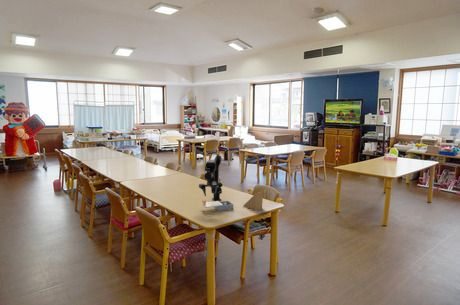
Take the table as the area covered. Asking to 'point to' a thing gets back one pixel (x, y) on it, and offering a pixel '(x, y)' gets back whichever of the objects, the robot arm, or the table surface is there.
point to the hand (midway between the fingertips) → (210, 195)
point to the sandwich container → (255, 202)
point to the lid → (210, 203)
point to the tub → (224, 206)
